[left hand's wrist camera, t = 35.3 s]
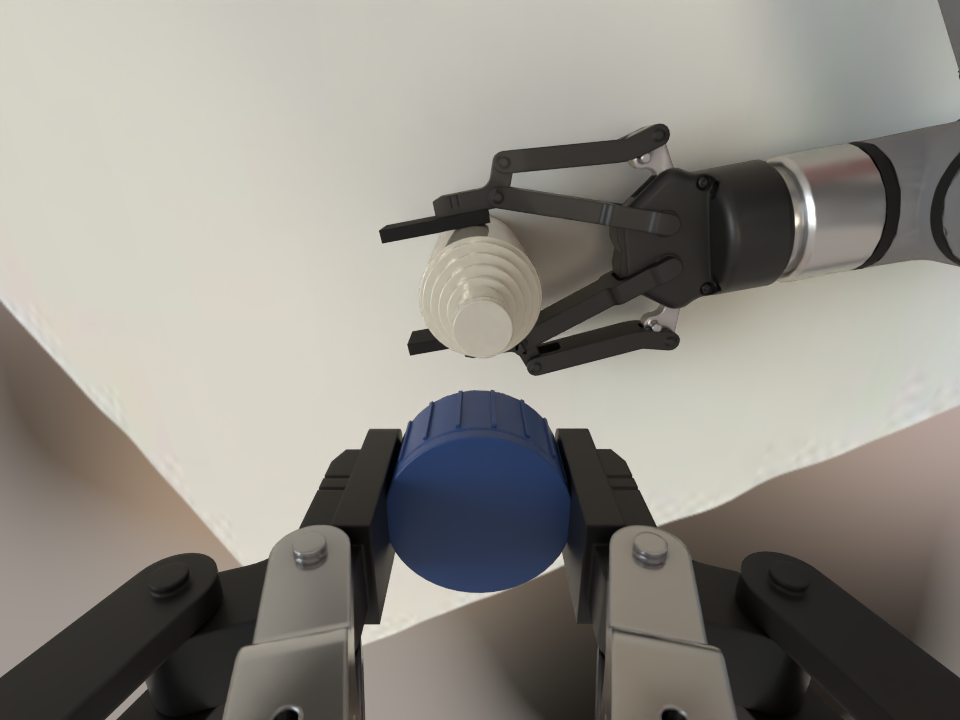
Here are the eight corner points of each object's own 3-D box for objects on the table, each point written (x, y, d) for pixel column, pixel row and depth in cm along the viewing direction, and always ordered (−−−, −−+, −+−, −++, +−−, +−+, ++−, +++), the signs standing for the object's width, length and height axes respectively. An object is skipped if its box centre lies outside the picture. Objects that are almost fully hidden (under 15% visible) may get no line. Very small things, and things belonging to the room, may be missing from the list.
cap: (366, 477, 12) (344, 538, 10) (458, 354, 11) (453, 396, 9) (495, 552, 13) (498, 622, 11) (593, 444, 12) (615, 500, 10)
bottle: (538, 248, 38) (589, 312, 22) (487, 317, 40) (499, 424, 24) (466, 195, 37) (464, 221, 20) (417, 269, 39) (378, 347, 22)
